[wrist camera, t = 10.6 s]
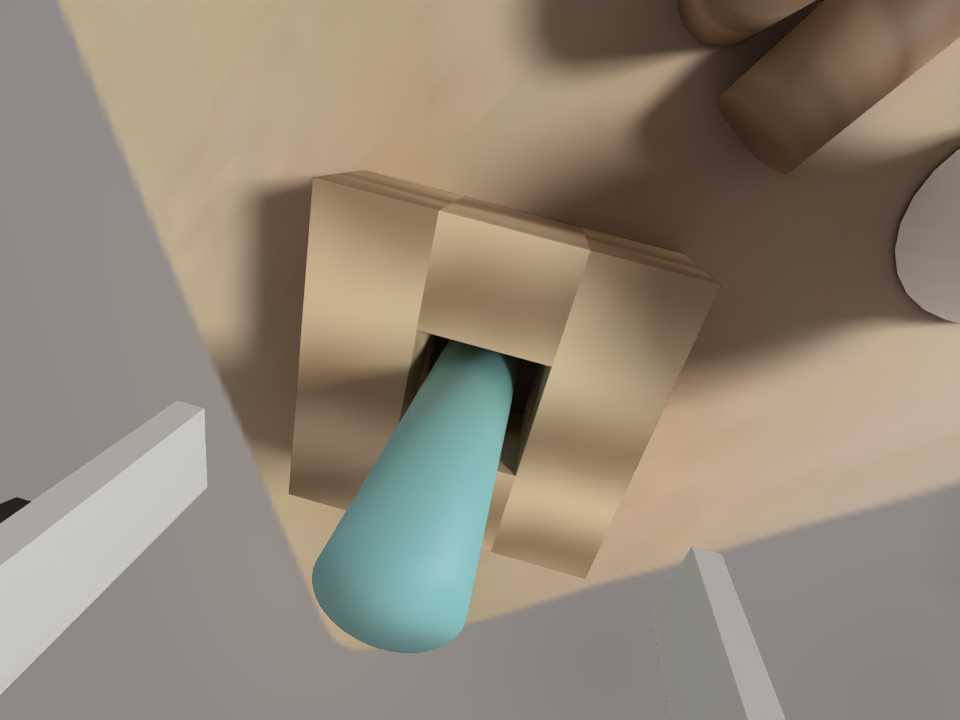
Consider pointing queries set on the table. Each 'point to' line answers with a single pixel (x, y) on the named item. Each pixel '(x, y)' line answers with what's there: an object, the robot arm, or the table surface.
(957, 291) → the cup
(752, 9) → the pin short
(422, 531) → the pin long
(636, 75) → the table surface
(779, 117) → the pin medium
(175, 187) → the table surface
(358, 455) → the hole block
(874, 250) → the table surface
